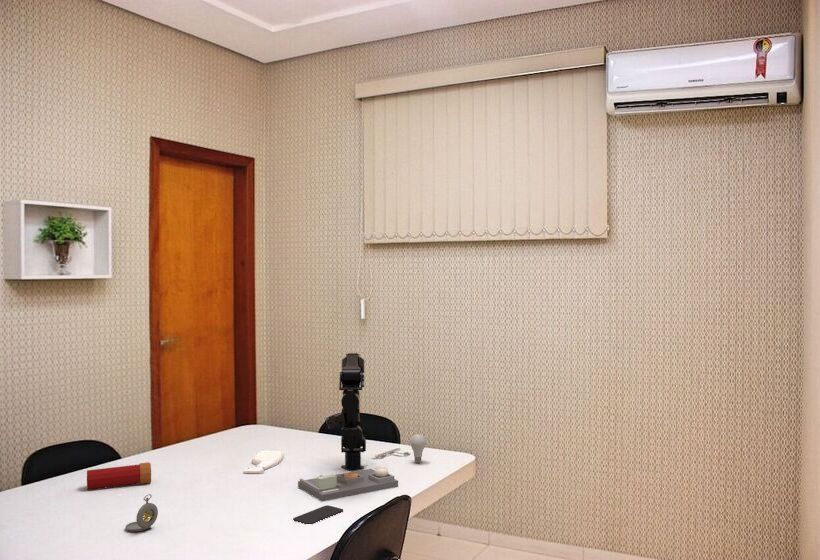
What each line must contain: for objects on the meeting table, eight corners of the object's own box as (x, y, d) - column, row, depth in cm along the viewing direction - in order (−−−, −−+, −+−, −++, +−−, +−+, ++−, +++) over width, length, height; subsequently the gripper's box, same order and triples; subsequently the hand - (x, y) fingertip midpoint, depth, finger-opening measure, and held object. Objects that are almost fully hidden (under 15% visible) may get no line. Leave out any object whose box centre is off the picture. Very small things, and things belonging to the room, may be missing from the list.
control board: (298, 487, 226) (298, 476, 226) (370, 474, 242) (370, 464, 242) (322, 501, 211) (322, 490, 211) (398, 486, 227) (398, 476, 227)
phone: (291, 518, 194) (326, 504, 206) (291, 521, 194) (326, 507, 206) (309, 524, 190) (345, 509, 202) (309, 527, 190) (345, 512, 202)
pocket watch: (130, 524, 190) (130, 489, 190) (160, 524, 191) (160, 488, 191) (120, 535, 182) (120, 498, 182) (152, 534, 183) (152, 497, 183)
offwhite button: (372, 474, 229) (372, 468, 229) (383, 472, 231) (383, 466, 231) (379, 477, 225) (379, 471, 225) (390, 475, 227) (390, 469, 227)
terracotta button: (341, 479, 228) (341, 473, 228) (353, 477, 230) (353, 471, 230) (348, 482, 224) (348, 476, 224) (360, 480, 226) (360, 474, 226)
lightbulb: (424, 465, 254) (424, 436, 254) (408, 464, 255) (408, 435, 255) (427, 461, 260) (427, 433, 260) (411, 460, 261) (411, 432, 261)
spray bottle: (286, 458, 266) (268, 476, 241) (259, 457, 267) (238, 475, 242) (286, 450, 266) (268, 468, 241) (259, 450, 267) (238, 467, 242)
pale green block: (316, 488, 217) (316, 477, 217) (333, 485, 221) (333, 474, 221) (319, 490, 215) (319, 479, 215) (336, 487, 219) (336, 476, 219)
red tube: (151, 485, 228) (151, 465, 228) (86, 492, 220) (86, 471, 220) (150, 480, 234) (150, 460, 235) (87, 486, 226) (87, 465, 227)
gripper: (327, 401, 236) (327, 446, 236) (326, 410, 217) (325, 459, 217) (359, 401, 237) (359, 445, 237) (360, 410, 218) (360, 458, 218)
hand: (350, 452), depth 227 cm, fingers closed
